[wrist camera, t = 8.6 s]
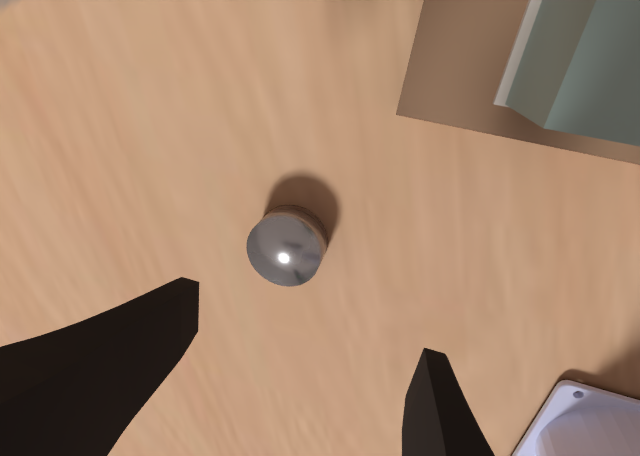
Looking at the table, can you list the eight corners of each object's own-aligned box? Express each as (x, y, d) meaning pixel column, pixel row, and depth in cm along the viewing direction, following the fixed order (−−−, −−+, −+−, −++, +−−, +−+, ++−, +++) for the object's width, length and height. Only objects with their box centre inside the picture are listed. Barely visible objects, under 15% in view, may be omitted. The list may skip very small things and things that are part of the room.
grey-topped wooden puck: (333, 213, 20) (325, 229, 19) (322, 275, 22) (313, 294, 20) (263, 196, 21) (249, 210, 19) (258, 258, 23) (244, 275, 21)
